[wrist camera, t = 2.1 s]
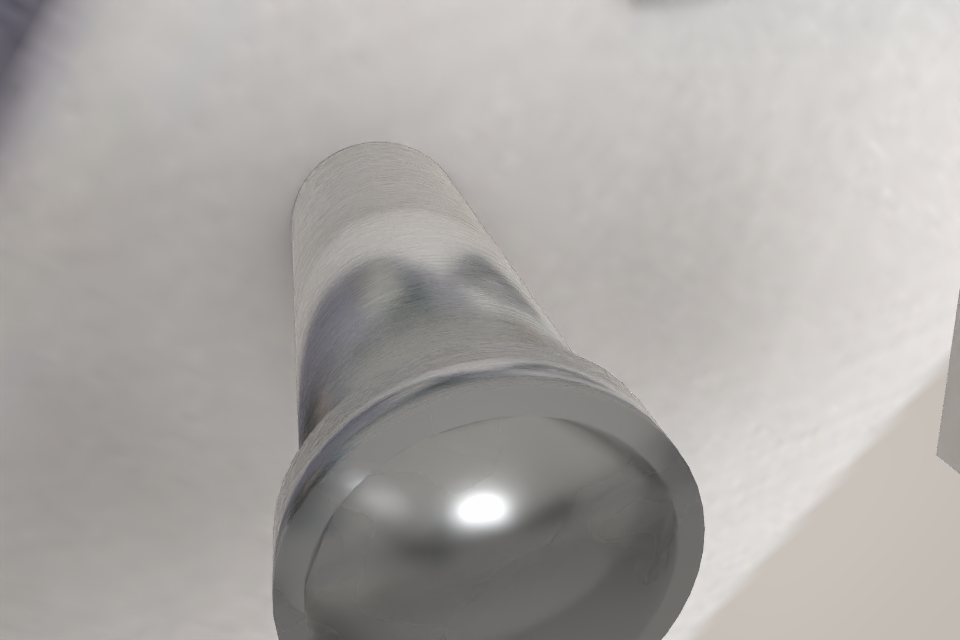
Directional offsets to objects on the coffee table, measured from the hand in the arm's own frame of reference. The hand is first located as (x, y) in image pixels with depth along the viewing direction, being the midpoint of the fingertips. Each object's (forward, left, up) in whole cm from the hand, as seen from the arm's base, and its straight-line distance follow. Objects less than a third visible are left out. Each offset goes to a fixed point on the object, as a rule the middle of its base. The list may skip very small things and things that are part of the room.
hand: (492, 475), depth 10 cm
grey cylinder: (0, 0, -10) cm, 10 cm away
